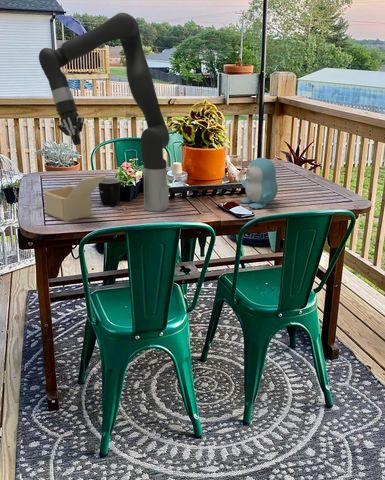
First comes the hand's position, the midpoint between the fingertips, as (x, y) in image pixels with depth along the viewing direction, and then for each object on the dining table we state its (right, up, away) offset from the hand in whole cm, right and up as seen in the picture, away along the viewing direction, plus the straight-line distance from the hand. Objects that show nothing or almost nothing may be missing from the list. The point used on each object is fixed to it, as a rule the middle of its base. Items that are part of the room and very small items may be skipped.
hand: (77, 144), depth 195 cm
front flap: (+6, -18, -14) cm, 24 cm away
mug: (+11, -23, +12) cm, 28 cm away
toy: (+74, -22, +18) cm, 80 cm away
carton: (-3, -28, -1) cm, 28 cm away
